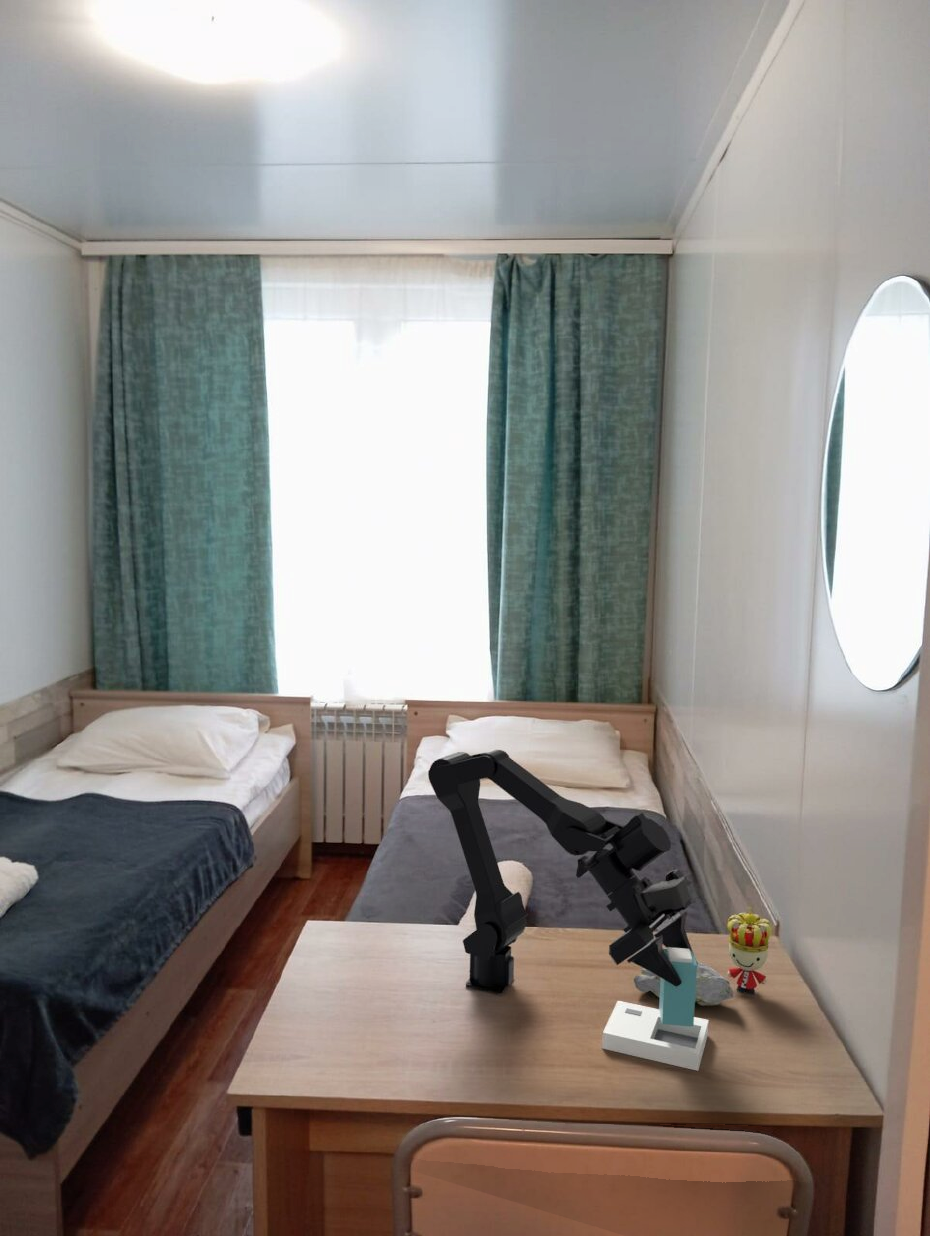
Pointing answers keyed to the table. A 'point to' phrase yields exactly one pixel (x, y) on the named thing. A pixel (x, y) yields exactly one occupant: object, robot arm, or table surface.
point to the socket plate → (654, 1036)
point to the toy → (748, 949)
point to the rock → (707, 985)
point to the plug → (679, 989)
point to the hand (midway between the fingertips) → (687, 976)
